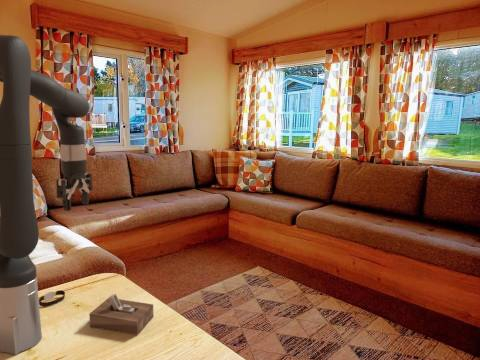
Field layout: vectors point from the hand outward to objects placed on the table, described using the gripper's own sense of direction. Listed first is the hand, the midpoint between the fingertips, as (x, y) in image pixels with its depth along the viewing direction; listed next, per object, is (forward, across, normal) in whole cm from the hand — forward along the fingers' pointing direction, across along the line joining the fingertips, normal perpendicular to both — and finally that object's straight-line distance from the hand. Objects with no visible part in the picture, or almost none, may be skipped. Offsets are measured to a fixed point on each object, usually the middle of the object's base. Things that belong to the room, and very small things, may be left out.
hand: (76, 207), depth 116 cm
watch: (+29, +11, -2) cm, 31 cm away
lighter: (+28, +15, +25) cm, 41 cm away
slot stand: (+28, +15, +25) cm, 40 cm away
